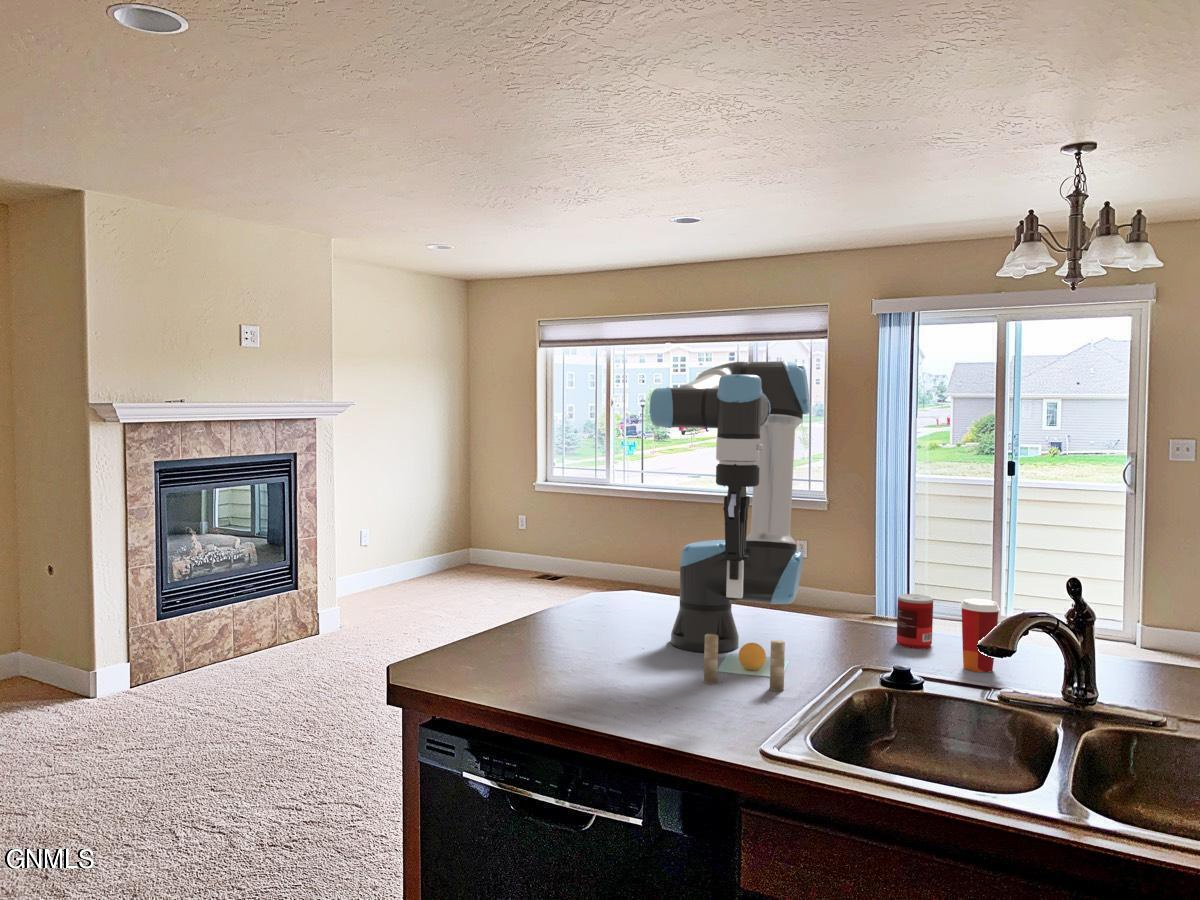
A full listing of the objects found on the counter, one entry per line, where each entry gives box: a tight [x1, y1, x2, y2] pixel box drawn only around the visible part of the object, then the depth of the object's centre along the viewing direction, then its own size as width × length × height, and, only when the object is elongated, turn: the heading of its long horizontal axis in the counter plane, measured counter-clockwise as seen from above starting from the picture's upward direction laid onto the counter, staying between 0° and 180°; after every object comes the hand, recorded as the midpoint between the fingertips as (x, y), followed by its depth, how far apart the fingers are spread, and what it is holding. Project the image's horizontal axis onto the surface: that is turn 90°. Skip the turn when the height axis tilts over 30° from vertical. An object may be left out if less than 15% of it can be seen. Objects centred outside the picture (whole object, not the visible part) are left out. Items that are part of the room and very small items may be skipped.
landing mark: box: [717, 654, 790, 678], centre depth 182 cm, size 13×13×1 cm
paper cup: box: [958, 598, 1001, 673], centre depth 183 cm, size 8×8×14 cm
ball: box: [738, 642, 767, 670], centre depth 179 cm, size 6×6×6 cm
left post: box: [703, 634, 719, 685], centre depth 170 cm, size 3×3×9 cm
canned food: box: [896, 593, 934, 650], centre depth 202 cm, size 8×8×11 cm
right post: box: [769, 639, 786, 692], centre depth 167 cm, size 3×3×9 cm
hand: (734, 596), depth 156 cm, fingers closed
